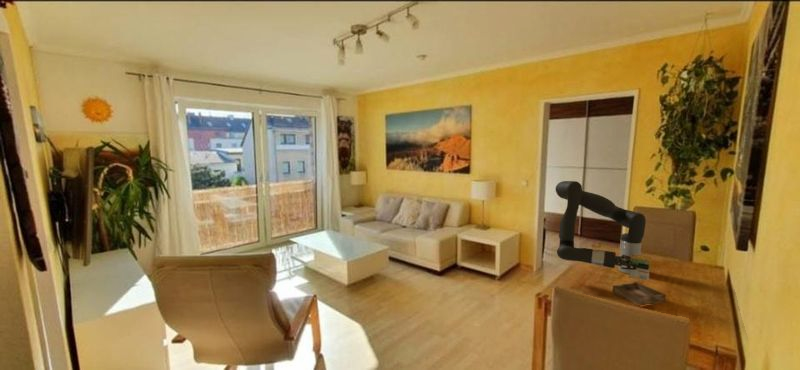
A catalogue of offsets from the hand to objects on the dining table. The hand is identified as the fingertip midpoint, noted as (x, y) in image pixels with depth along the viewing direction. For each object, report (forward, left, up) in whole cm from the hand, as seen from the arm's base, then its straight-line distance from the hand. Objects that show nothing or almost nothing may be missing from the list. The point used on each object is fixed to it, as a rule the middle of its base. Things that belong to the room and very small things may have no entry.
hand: (648, 265), depth 147 cm
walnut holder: (+2, -2, -16) cm, 16 cm away
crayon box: (+2, -2, -7) cm, 7 cm away
